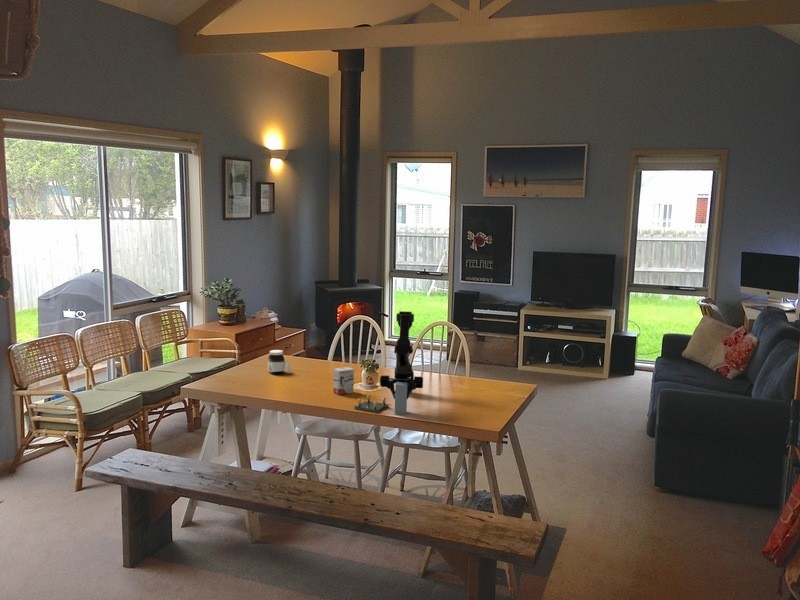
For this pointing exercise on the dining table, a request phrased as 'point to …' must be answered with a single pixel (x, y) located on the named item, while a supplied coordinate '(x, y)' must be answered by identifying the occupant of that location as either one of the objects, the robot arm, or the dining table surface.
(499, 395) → the dining table surface
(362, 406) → the base plate
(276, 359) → the spread jar
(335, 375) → the ink box
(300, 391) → the dining table surface
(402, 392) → the post
